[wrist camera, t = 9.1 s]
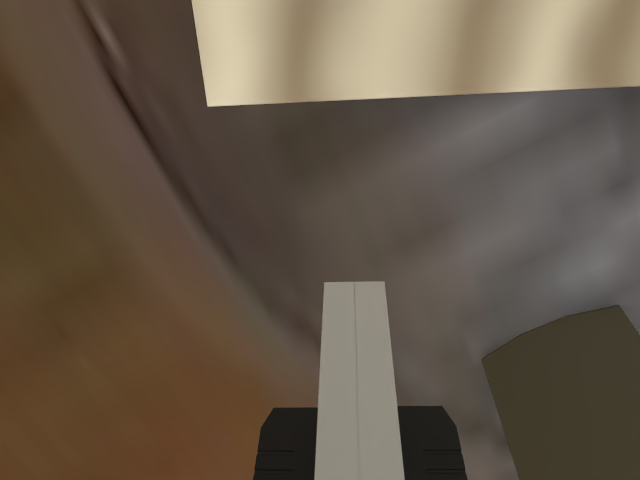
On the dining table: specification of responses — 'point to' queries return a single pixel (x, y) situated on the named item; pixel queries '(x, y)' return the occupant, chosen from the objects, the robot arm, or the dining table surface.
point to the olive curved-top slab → (571, 397)
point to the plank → (411, 48)
